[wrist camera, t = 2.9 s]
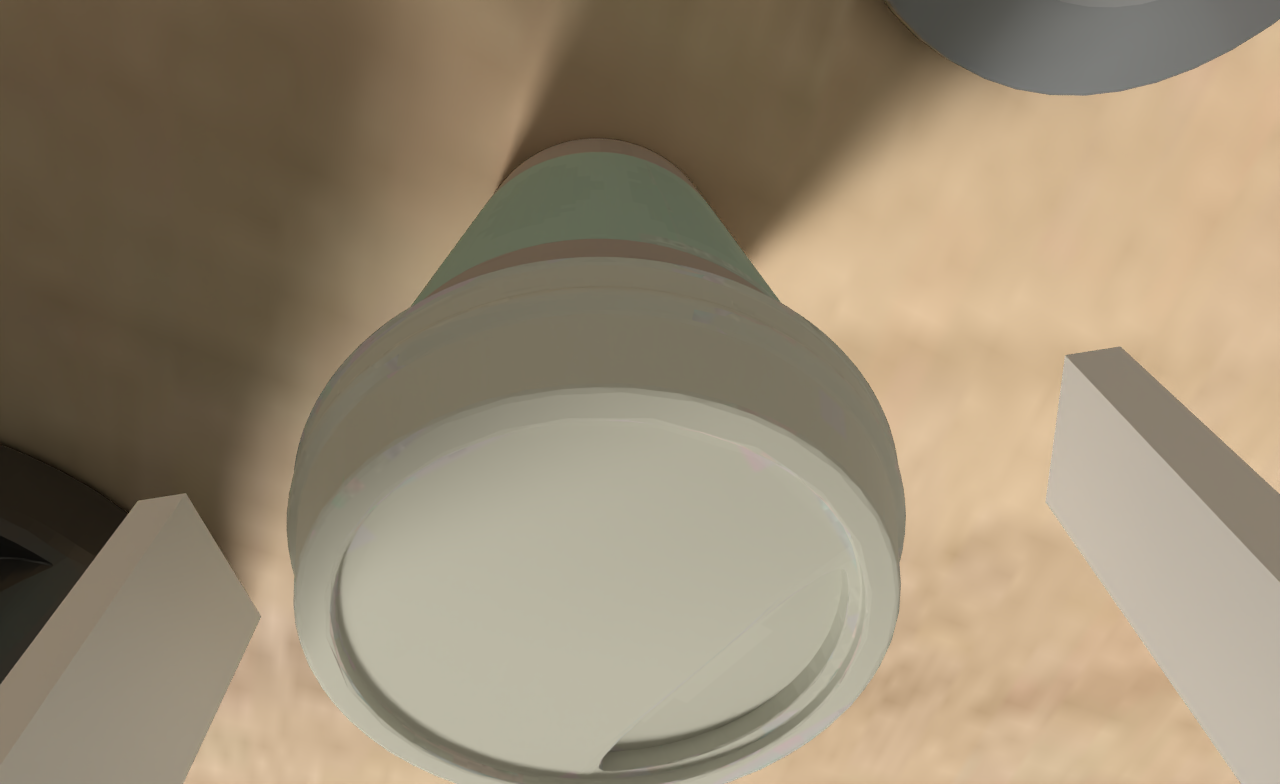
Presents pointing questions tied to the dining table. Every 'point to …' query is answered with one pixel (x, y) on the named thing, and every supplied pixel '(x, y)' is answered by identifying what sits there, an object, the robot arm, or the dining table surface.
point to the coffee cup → (596, 499)
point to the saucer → (1083, 38)
